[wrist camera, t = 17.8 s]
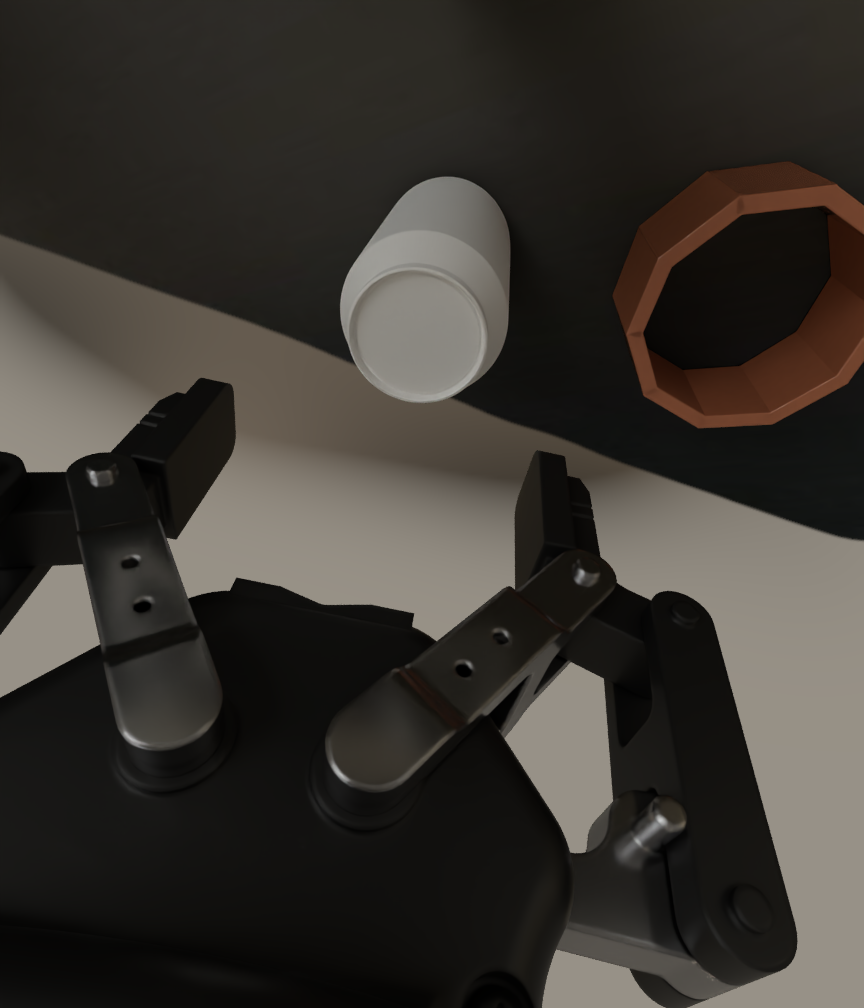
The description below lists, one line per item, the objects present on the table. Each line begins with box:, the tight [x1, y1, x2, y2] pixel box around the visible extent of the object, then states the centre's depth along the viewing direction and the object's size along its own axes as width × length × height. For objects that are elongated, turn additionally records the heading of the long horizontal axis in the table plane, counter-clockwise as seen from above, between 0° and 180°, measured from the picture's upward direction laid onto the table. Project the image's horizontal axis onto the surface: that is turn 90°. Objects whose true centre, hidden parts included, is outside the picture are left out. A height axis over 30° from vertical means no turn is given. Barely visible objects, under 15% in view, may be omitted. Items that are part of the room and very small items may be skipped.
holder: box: [612, 161, 864, 428], centre depth 27 cm, size 10×11×5 cm
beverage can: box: [340, 177, 510, 403], centre depth 24 cm, size 6×6×12 cm
